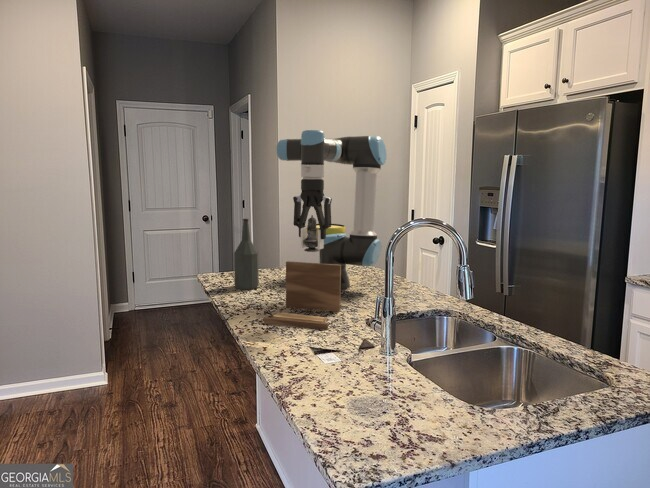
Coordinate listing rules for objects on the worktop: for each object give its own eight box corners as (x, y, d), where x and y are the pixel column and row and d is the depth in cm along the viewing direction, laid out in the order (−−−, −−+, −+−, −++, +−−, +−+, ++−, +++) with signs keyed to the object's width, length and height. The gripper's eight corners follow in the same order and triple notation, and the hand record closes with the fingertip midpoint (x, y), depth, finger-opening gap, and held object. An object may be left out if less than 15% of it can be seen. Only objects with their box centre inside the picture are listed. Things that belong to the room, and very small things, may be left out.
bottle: (256, 290, 204) (255, 220, 200) (233, 290, 204) (231, 219, 200) (259, 284, 214) (259, 217, 210) (237, 284, 215) (236, 217, 210)
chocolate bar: (374, 346, 140) (315, 352, 135) (374, 349, 140) (315, 356, 135) (362, 335, 149) (306, 341, 143) (362, 338, 149) (306, 344, 143)
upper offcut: (278, 318, 163) (278, 312, 163) (326, 323, 158) (326, 317, 158) (273, 321, 159) (273, 316, 159) (322, 327, 154) (322, 321, 154)
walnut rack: (285, 309, 178) (285, 261, 175) (342, 314, 172) (343, 264, 169) (263, 327, 158) (262, 273, 155) (327, 333, 152) (327, 277, 149)
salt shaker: (323, 250, 164) (324, 214, 162) (315, 252, 158) (315, 216, 157) (308, 248, 166) (309, 213, 164) (299, 250, 161) (299, 215, 159)
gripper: (282, 178, 160) (282, 247, 163) (332, 179, 151) (331, 252, 155) (294, 177, 166) (294, 244, 170) (343, 178, 158) (342, 248, 161)
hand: (312, 247), depth 162 cm, fingers closed on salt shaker, 6 cm apart
